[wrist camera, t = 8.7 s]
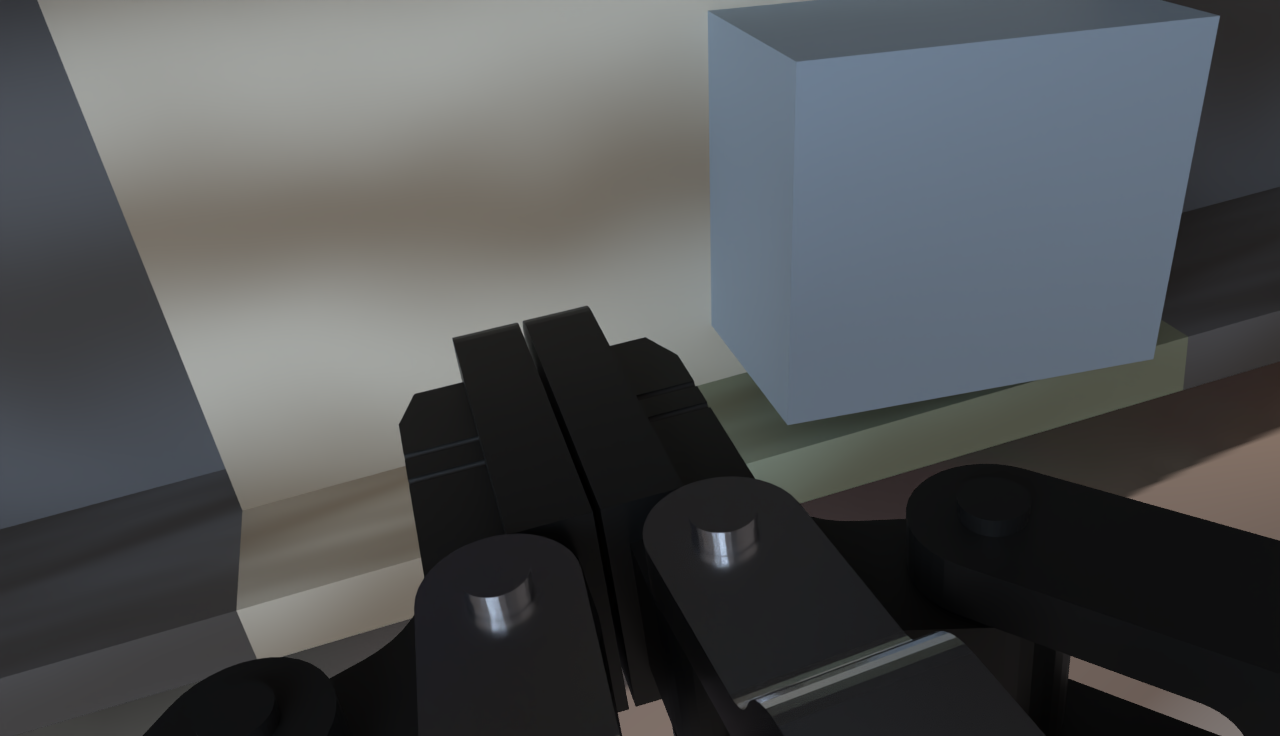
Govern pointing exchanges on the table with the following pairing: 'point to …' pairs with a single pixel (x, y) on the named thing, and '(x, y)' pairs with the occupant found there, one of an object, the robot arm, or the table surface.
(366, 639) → the table surface
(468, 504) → the robot arm
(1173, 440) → the table surface
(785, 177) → the slate block
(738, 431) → the trap lane
